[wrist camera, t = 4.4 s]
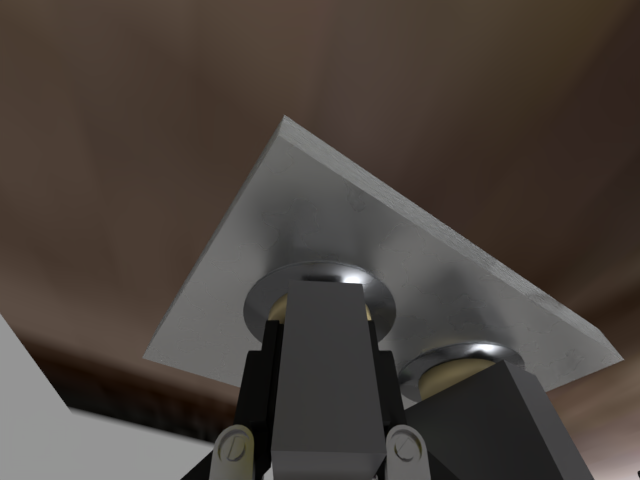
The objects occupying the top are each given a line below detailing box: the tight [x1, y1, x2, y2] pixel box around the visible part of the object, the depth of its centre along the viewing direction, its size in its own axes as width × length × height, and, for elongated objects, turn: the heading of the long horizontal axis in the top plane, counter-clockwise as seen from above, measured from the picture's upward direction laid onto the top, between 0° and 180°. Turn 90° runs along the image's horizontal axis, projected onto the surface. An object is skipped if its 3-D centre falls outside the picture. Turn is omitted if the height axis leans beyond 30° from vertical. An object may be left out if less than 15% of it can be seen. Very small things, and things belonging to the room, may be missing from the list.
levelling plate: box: [142, 115, 624, 410], centre depth 18 cm, size 22×15×2 cm
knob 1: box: [268, 280, 387, 480], centre depth 12 cm, size 5×7×7 cm
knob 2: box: [404, 359, 595, 480], centre depth 15 cm, size 5×7×7 cm
